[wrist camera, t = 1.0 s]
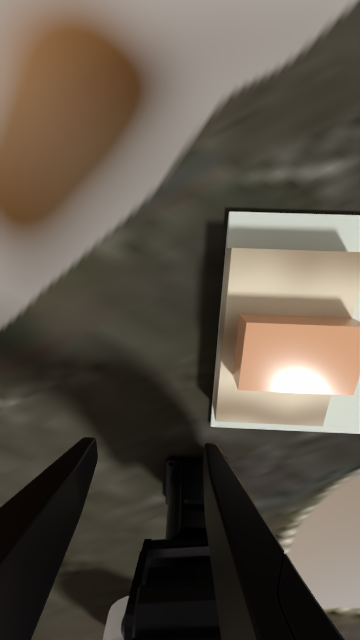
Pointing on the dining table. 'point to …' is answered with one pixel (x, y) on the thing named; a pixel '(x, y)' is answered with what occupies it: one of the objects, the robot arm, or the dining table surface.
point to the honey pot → (115, 620)
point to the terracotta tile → (297, 354)
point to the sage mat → (300, 235)
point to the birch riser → (285, 300)
